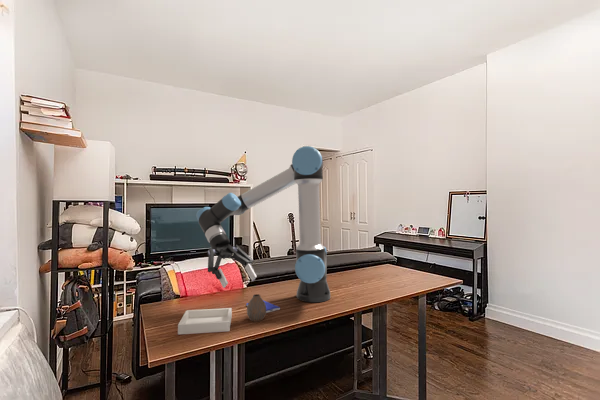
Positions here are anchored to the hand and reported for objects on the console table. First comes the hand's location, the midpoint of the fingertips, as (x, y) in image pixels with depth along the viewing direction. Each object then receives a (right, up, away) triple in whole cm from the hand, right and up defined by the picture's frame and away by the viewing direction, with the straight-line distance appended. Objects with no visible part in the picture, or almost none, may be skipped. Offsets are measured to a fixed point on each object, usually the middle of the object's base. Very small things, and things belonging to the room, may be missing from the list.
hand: (240, 282), depth 116 cm
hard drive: (+7, -13, +8) cm, 17 cm away
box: (-10, -12, -10) cm, 18 cm away
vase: (+7, -12, -5) cm, 15 cm away
